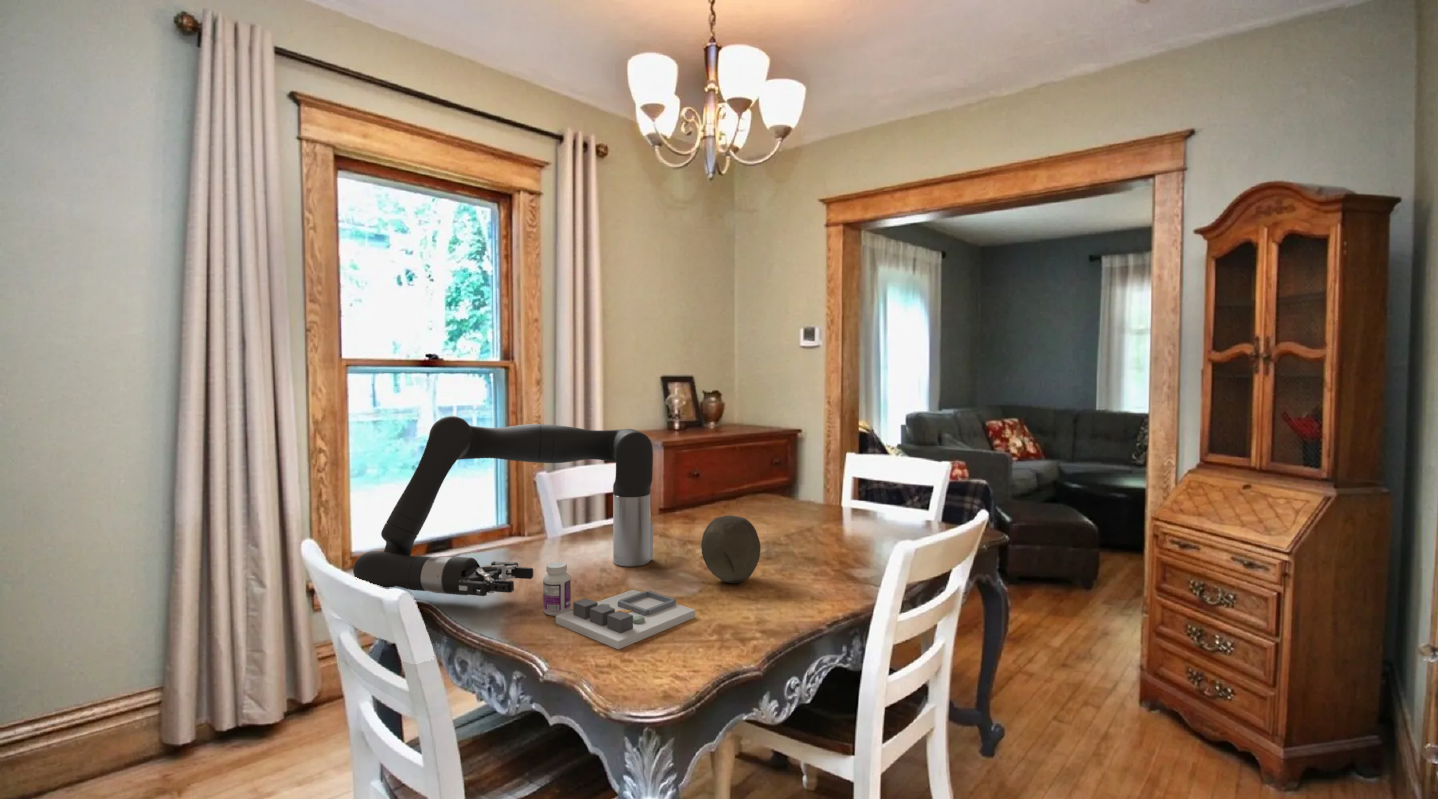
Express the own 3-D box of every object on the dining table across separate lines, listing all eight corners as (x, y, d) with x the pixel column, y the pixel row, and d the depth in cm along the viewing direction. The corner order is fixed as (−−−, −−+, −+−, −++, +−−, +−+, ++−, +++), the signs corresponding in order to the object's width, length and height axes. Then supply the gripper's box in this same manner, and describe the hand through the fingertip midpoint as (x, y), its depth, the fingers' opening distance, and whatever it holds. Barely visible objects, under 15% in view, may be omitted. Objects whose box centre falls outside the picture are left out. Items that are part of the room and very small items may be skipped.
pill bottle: (561, 604, 140) (561, 558, 140) (575, 611, 137) (575, 564, 136) (538, 611, 137) (537, 564, 136) (552, 618, 133) (551, 570, 132)
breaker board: (633, 596, 146) (633, 578, 145) (695, 617, 134) (695, 597, 134) (555, 623, 130) (555, 603, 130) (618, 649, 119) (618, 627, 118)
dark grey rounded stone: (773, 580, 157) (774, 516, 156) (732, 595, 147) (733, 527, 146) (728, 567, 166) (728, 507, 166) (687, 580, 156) (687, 516, 155)
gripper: (429, 567, 133) (505, 572, 130) (468, 548, 147) (538, 552, 144) (430, 605, 134) (506, 610, 131) (469, 581, 148) (538, 586, 145)
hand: (523, 579), depth 138 cm, fingers open, 8 cm apart
